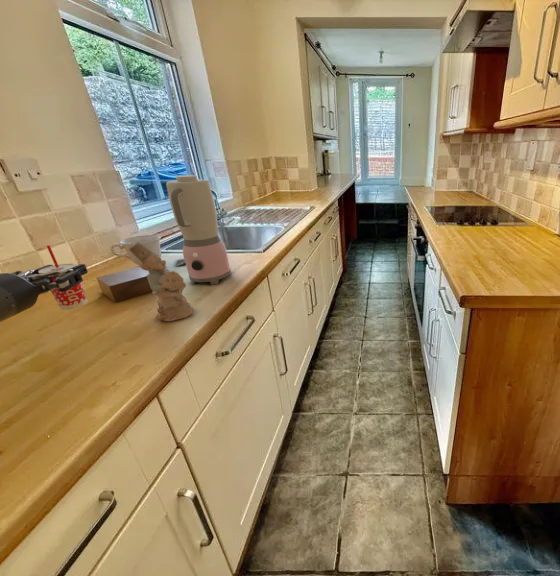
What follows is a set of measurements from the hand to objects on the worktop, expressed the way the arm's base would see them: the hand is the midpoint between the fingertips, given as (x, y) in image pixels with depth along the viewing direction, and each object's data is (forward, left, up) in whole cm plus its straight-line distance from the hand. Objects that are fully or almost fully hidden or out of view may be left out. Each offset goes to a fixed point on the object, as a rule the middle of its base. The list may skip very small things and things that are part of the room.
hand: (68, 268), depth 71 cm
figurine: (+14, -11, -15) cm, 23 cm away
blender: (+31, +5, -15) cm, 35 cm away
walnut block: (+13, +16, -15) cm, 26 cm away
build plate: (+38, +28, -15) cm, 50 cm away
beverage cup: (-2, -2, -8) cm, 9 cm away
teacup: (+24, +37, -15) cm, 47 cm away
